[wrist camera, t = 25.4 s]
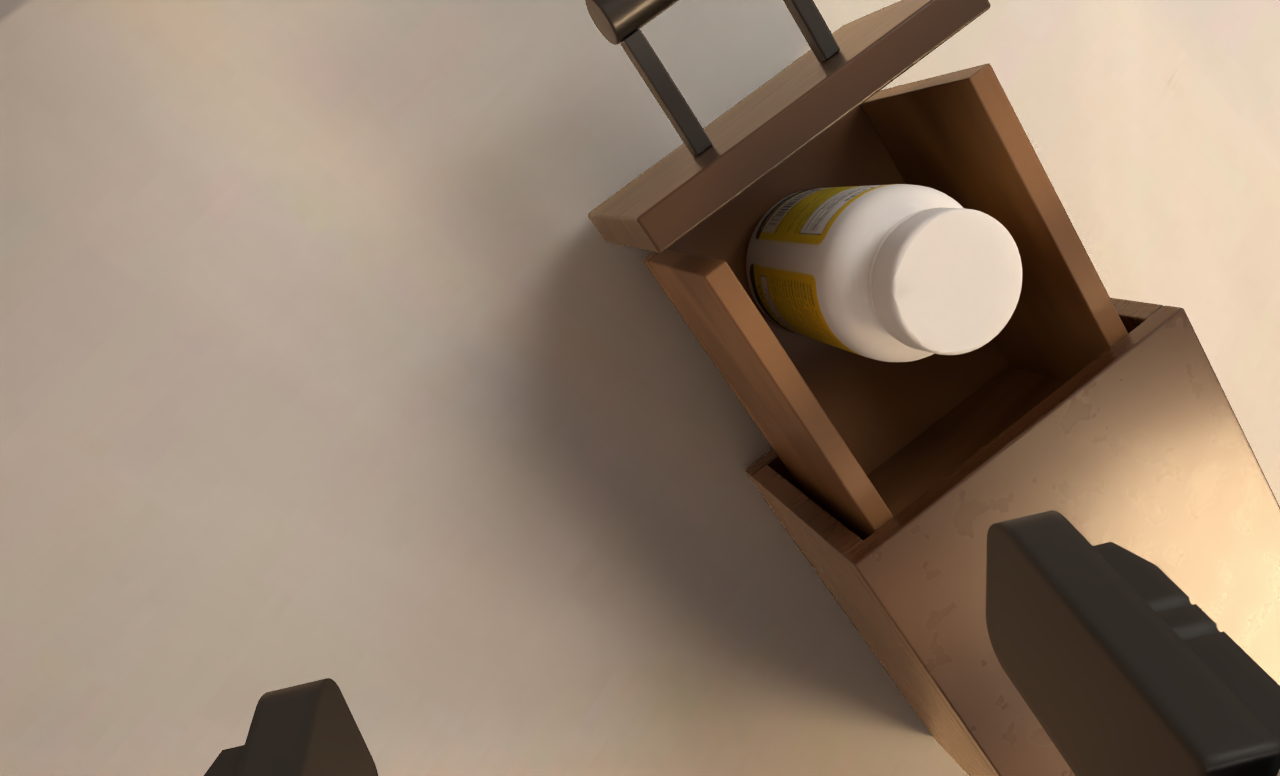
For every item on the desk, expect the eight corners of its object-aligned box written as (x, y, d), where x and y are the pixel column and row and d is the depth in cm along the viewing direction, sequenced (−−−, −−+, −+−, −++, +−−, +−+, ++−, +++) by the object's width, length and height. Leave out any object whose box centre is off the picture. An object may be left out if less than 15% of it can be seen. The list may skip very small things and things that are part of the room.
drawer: (492, 79, 31) (511, 36, 23) (765, -118, 32) (876, -226, 24) (804, 527, 37) (906, 616, 29) (1028, 354, 38) (1187, 394, 30)
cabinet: (744, 469, 37) (854, 565, 27) (991, 280, 38) (1184, 307, 28) (933, 737, 42) (1084, 899, 32) (1149, 564, 42) (1360, 671, 33)
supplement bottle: (857, 345, 35) (1014, 398, 25) (727, 318, 33) (841, 363, 24) (894, 205, 34) (1070, 207, 24) (762, 171, 32) (894, 159, 23)
